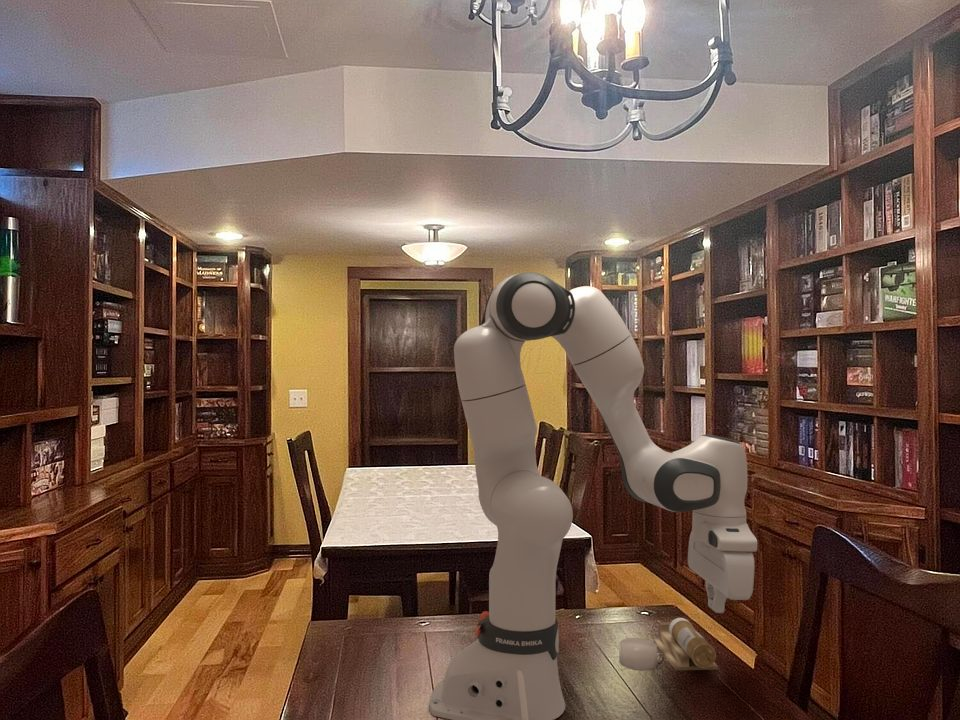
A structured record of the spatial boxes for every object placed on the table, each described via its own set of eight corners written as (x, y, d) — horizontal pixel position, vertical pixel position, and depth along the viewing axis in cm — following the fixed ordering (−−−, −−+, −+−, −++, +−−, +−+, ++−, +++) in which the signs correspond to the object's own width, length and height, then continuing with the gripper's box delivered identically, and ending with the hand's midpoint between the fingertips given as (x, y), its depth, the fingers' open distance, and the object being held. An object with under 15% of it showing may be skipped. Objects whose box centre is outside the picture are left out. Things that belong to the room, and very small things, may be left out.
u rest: (718, 669, 134) (718, 647, 134) (675, 670, 134) (675, 648, 134) (692, 641, 148) (692, 621, 148) (653, 641, 148) (653, 622, 148)
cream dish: (620, 669, 134) (620, 650, 134) (618, 654, 141) (618, 636, 141) (658, 672, 133) (658, 653, 133) (655, 657, 140) (655, 639, 140)
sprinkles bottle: (719, 646, 130) (693, 619, 144) (694, 641, 130) (671, 614, 143) (713, 671, 130) (688, 641, 144) (689, 666, 130) (666, 637, 143)
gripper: (680, 517, 134) (677, 591, 134) (723, 542, 114) (721, 630, 114) (713, 517, 135) (711, 592, 134) (762, 543, 114) (759, 631, 114)
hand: (716, 610), depth 124 cm, fingers closed
